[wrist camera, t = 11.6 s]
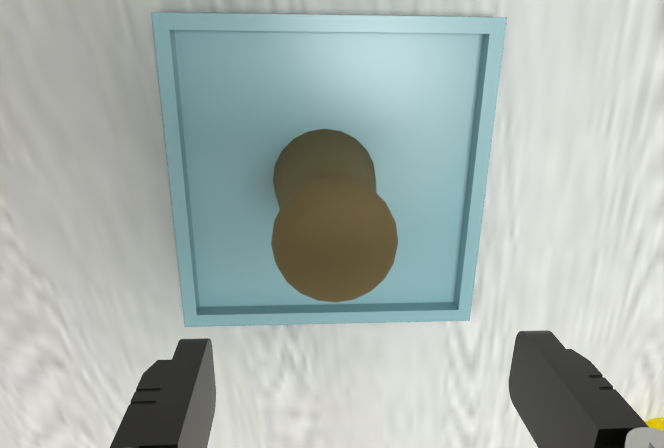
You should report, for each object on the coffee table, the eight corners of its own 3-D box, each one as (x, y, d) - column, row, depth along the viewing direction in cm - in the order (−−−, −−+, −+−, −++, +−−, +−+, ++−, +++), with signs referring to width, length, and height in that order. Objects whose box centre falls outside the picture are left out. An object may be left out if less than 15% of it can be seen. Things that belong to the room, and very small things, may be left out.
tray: (190, 311, 33) (184, 326, 31) (161, 13, 26) (151, 12, 25) (461, 306, 34) (469, 320, 32) (494, 18, 28) (506, 17, 26)
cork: (390, 146, 29) (440, 207, 19) (356, 239, 31) (384, 341, 20) (289, 114, 28) (282, 160, 18) (260, 212, 30) (240, 305, 20)
